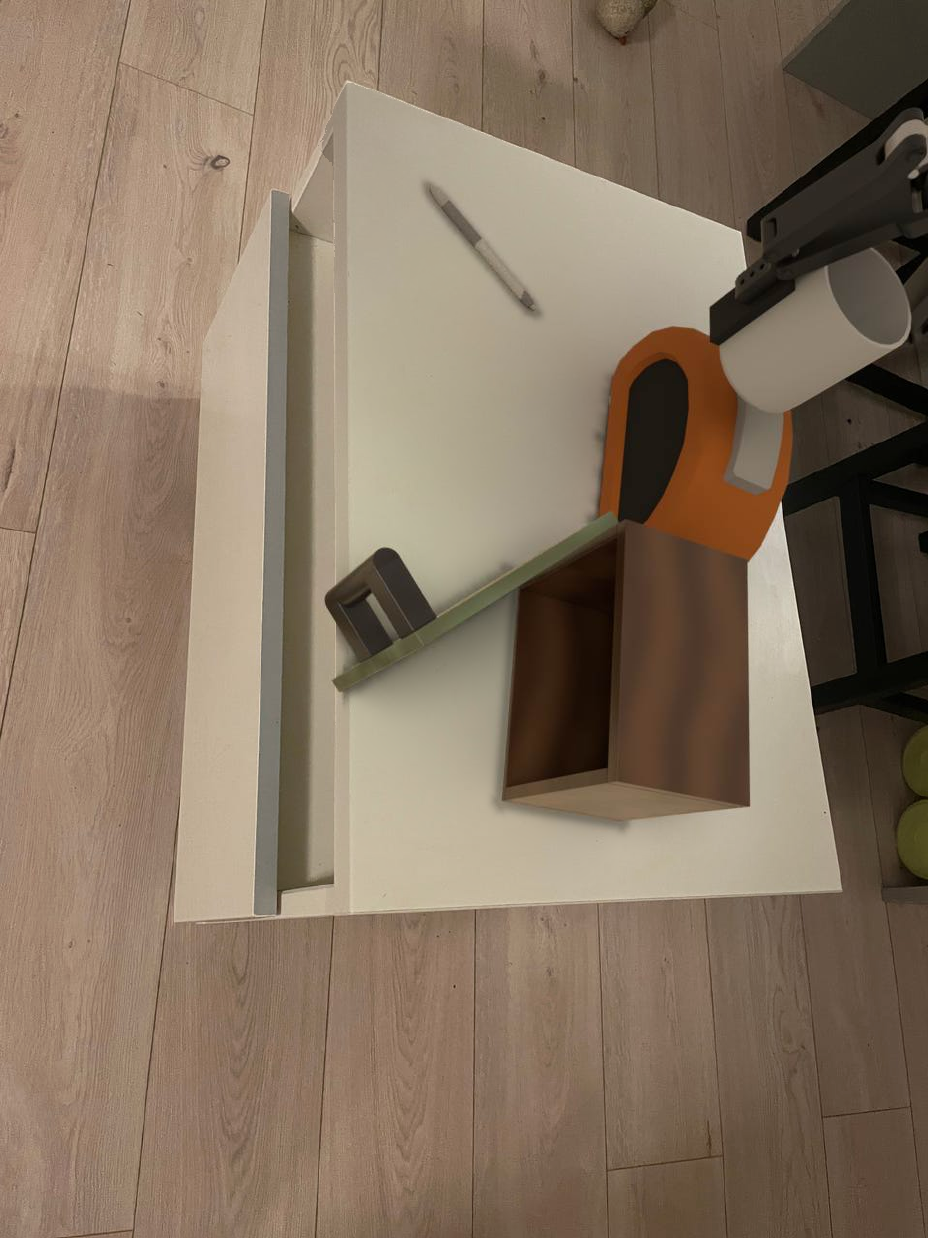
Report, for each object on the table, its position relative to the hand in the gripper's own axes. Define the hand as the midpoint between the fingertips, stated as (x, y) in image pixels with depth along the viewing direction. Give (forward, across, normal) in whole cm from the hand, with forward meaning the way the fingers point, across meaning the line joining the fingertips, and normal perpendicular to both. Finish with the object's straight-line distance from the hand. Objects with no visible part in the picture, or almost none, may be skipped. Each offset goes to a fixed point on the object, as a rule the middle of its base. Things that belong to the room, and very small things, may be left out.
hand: (760, 346), depth 62 cm
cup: (0, 0, 0) cm, 1 cm away
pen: (+23, -11, +19) cm, 32 cm away
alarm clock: (+23, +7, +1) cm, 24 cm away
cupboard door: (+23, -14, -15) cm, 31 cm away
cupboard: (+23, +1, -20) cm, 31 cm away
